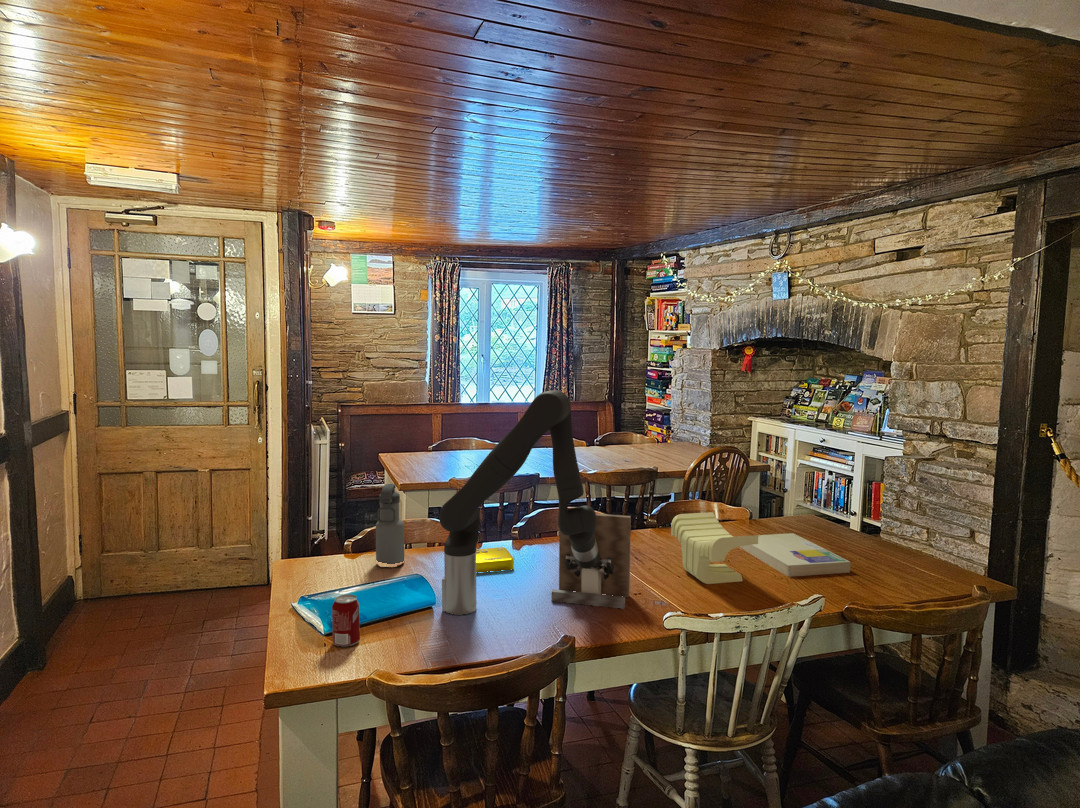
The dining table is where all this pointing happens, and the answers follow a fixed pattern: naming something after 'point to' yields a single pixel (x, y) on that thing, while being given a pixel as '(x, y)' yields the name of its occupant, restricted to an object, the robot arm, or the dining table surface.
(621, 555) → the wall board
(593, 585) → the beige rectangular block
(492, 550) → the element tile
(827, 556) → the puzzle box
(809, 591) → the dining table surface
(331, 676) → the dining table surface
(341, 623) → the soda can
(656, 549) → the dining table surface
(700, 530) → the slatted curved stool
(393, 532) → the water bottle
